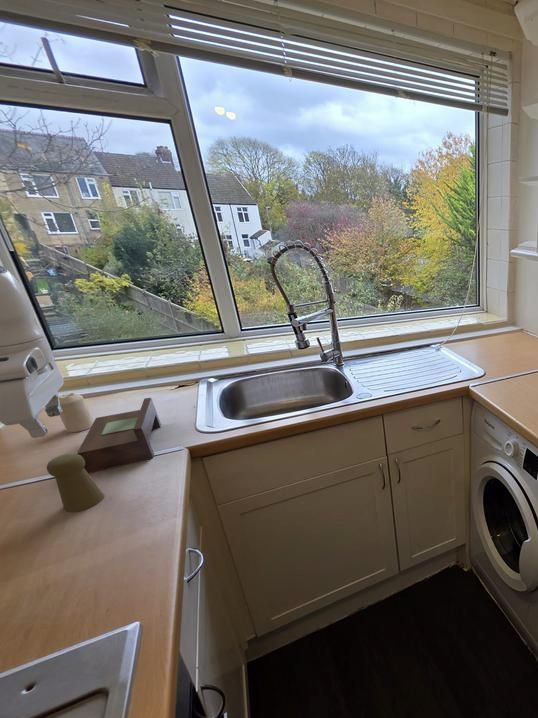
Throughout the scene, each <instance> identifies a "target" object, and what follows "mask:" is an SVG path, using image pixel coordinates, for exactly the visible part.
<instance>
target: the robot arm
mask: <svg viewBox="0 0 538 718" xmlns="http://www.w3.org/2000/svg"><path fill="white" fill-rule="evenodd" d="M64 384H65V380H64V376H63V374H62V372H61V370H60V368H59V367H58V364H57V362H56V360H55V356H54V354H53V351H52V349H51V347H50V345H49V342H48V340H47V338H46V336H45V333H44V332H43V331H42V330H41V329H40V328H39V327H38V325H37V324H36V321H35V313H34V309H33V307H32V305H31V303H30V301H29V298H28V297H27V295H26V292H25V291H24V289H23V287H22V286H21V284H20V282H19V281H18V279H17V278H16V276H14V274H13V273H12V272H11V271H10V270H8V269H7V267H5V266H2V265H0V423H1V424H3V425H5V426H14V425H20V426H21V427H22V428H24V429H25V430H26V431H27V432H28V434H29V435H30V437H31V438H32V439H39V438H43V437H45V436H46V435H47V433H48V432H49V430H48V429H47V426H46V424H44V423H43V424H42V422H41V421H40V415H39V414H40V413H41V412H42V411H43V410H44V411H45V413H46V415H47V416H48V417H49V418H52V417H53V418H54V417H60V414H61V413H62V409H61V406H60V402H59V396H60V394H59V392H58V391H60V389H61V388H62V387H63V385H64Z"/></svg>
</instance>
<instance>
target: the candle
mask: <svg viewBox="0 0 538 718" xmlns="http://www.w3.org/2000/svg"><path fill="white" fill-rule="evenodd" d="M59 402H60V406H61V409H62V413H61V414H60V415H59V418H60V420H61V422H62V424H63V426H64V428H65V430H66V431H67V433H78V432H82V431H86V430H90V428H91V426H92V424H93V423H94V421H95V420H94V418H93V417H92V414H91V411H90V409H89V408H88V405H87V403H86V400H85V398H84V396H82V395H80V394H78V393H75V392H71V393H68V394H62V395H59Z"/></svg>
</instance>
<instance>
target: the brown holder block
mask: <svg viewBox="0 0 538 718" xmlns="http://www.w3.org/2000/svg"><path fill="white" fill-rule="evenodd" d="M93 421H94V423H93V424H92V426H91V428H89V429H88V432H87V433H86V435H85V438H84V439H83V441H82V443H81V445H80V447H79V448H78V450H77V452H76V454H78V455H81V456H82V457H83V458H84V460H85V466H84V469H85V470H86V471H87V473H88V474H90V473H95V472H100V471H104V470H109V469H112V468H116V467H121V466H125V465H130V464H133V463H137V462H142V461H146V460H151V459H154V456H155V453H154V450H153V448H152V445H151V442H150V437H151V434H152V430H154V429H159V428H161V427H162V423H161V421H160V418H159V414H158V412H157V409H156V406H155V403H154V401H153V399H152V397H145V398H143V400H142V404H141V407H140V409H137V410H131V411H125V412H120V413H115V414H110V415H104V416H97V417H95V419H94V420H93Z"/></svg>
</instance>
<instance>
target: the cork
mask: <svg viewBox="0 0 538 718" xmlns="http://www.w3.org/2000/svg"><path fill="white" fill-rule="evenodd" d="M84 466H85V460H84V458H83V457H82V456H81V455H78V454H77V453H67V454H66V453H65V454H62V455H59V456H56V457H54V458H51V460H50V461H48V462H47V465H46V471H47V472H48V474H49V475H50V476H52V477H54V478H55V481H56V485H57V489H58V492H59V496H60V500H61V503H62V508H63V510H64V511H65V512H67V513H76V512H81V511H84V510H87V509H90V508H92V507H94V506H96V505H98V504H99V503H100V502H102V501H103V500H104V498H105V494H104V493H103V491H102V490H101V489H100V488H99V486H98V485H97V483H96V482H95V481H94V479H93V478H92V476H91V475H90V473H87V471H86V470H85V469H84Z"/></svg>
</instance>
